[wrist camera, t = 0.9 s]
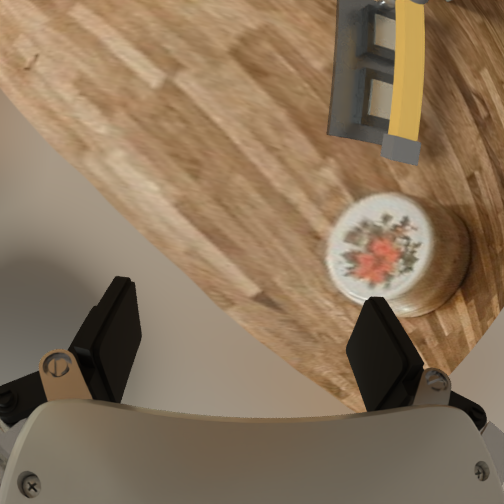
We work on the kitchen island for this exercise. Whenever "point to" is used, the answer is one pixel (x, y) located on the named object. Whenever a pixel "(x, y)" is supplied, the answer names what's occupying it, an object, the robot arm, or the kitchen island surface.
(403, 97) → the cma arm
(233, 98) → the kitchen island surface
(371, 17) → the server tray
